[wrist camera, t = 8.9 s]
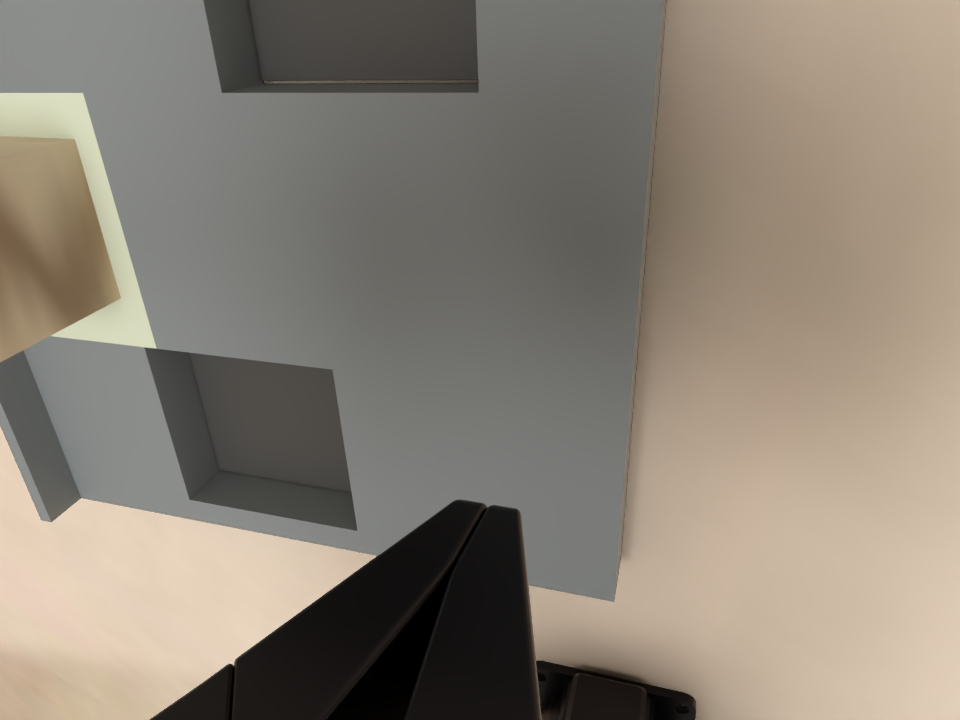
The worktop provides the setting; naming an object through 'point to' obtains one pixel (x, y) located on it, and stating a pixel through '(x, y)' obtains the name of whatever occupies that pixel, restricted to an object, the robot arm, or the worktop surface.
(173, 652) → the worktop surface
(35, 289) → the maple block
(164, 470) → the board
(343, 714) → the robot arm
